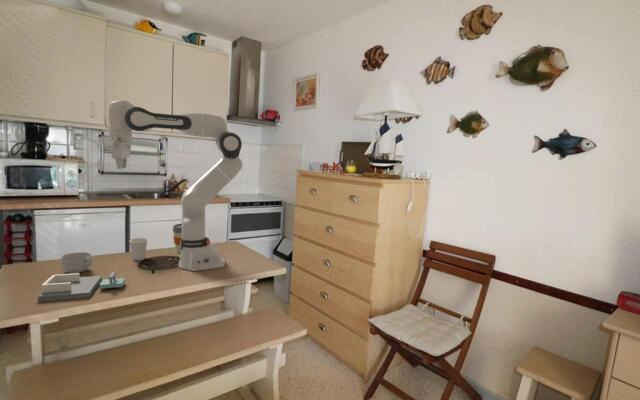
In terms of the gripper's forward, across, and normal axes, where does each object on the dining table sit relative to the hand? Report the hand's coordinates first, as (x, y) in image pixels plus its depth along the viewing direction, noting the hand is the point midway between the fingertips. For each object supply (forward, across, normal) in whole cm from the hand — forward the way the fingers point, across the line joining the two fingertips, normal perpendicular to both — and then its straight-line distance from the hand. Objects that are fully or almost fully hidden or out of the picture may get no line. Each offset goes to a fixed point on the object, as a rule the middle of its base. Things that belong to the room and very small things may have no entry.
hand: (121, 168), depth 153 cm
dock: (+48, -22, +14) cm, 55 cm away
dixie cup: (+48, +16, -4) cm, 51 cm away
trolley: (+48, -22, 0) cm, 53 cm away
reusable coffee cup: (+48, +25, -26) cm, 60 cm away
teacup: (+48, 0, +18) cm, 51 cm away
